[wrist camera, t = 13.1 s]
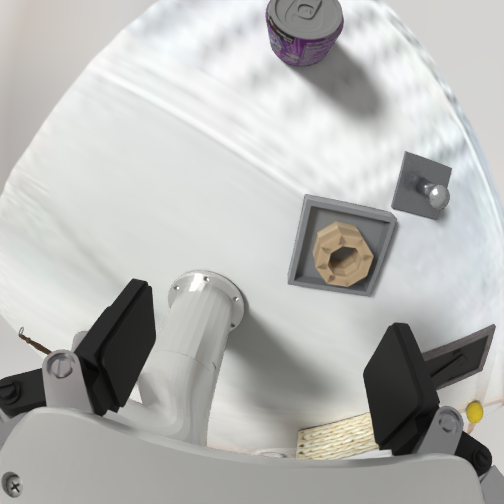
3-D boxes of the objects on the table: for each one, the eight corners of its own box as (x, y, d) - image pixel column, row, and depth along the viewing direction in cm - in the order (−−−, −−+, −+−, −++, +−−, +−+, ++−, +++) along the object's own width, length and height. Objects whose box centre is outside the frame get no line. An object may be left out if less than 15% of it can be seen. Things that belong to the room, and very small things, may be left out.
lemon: (460, 409, 58) (467, 429, 51) (469, 398, 55) (477, 418, 48) (471, 406, 57) (479, 425, 50) (481, 395, 55) (489, 415, 48)
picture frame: (409, 394, 55) (479, 366, 49) (411, 400, 53) (482, 371, 48) (413, 354, 48) (492, 322, 43) (416, 361, 47) (496, 327, 41)
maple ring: (355, 271, 40) (361, 288, 36) (309, 264, 40) (311, 281, 36) (368, 227, 37) (378, 241, 33) (320, 218, 37) (324, 231, 33)
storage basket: (382, 404, 56) (392, 455, 43) (388, 428, 62) (396, 471, 49) (291, 428, 63) (290, 477, 50) (310, 448, 69) (310, 490, 56)
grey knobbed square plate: (435, 218, 35) (453, 233, 30) (391, 206, 35) (405, 220, 31) (450, 167, 32) (470, 176, 27) (404, 151, 32) (422, 157, 27)
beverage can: (278, 13, 26) (275, -29, 15) (333, 28, 26) (354, -7, 15) (263, 59, 29) (254, 32, 18) (320, 74, 29) (338, 54, 18)
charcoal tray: (365, 287, 42) (368, 296, 39) (287, 275, 42) (287, 284, 40) (390, 212, 36) (396, 218, 34) (305, 193, 36) (306, 199, 34)
